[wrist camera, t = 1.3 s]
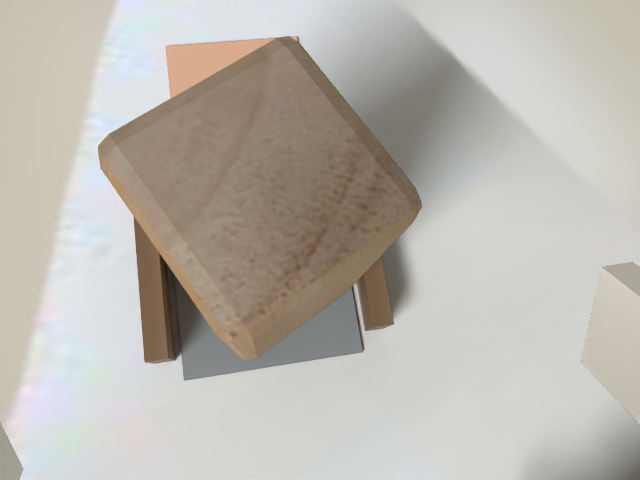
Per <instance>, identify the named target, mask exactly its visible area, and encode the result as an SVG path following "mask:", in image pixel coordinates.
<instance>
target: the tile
mask: <svg viewBox="0 0 640 480" xmlns="http://www.w3.org/2000/svg"><path fill="white" fill-rule="evenodd" d="M291 38H292V39H294V40H296V41H297V37H291ZM274 39H276V38H274ZM274 39H260V40H246V41H232V42H218V43H204V44H190V45H177V46H166V56H167V66H168V76H169V86H170V96H171V98H173V97H174V96H176V95H178V94H180V93H181V92H183V91H185V90H187V89H188V88H190V87H192V86H194V85H195V84H197V83H199V82H201V81H202V80H204V79H206V78H208V77H209V76H211V75H213V74H215V73H216V72H218V71H220V70H222V69H223V68H225V67H227V66H229V65H230V64H232V63H234V62H236V61H237V60H239V59H241V58H243V57H244V56H246V55H248V54H250V53H251V52H253V51H255V50H257V49H258V48H260V47H262V46H264V45H265V44H267V43H269V42H271V41H272V40H274Z"/></svg>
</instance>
